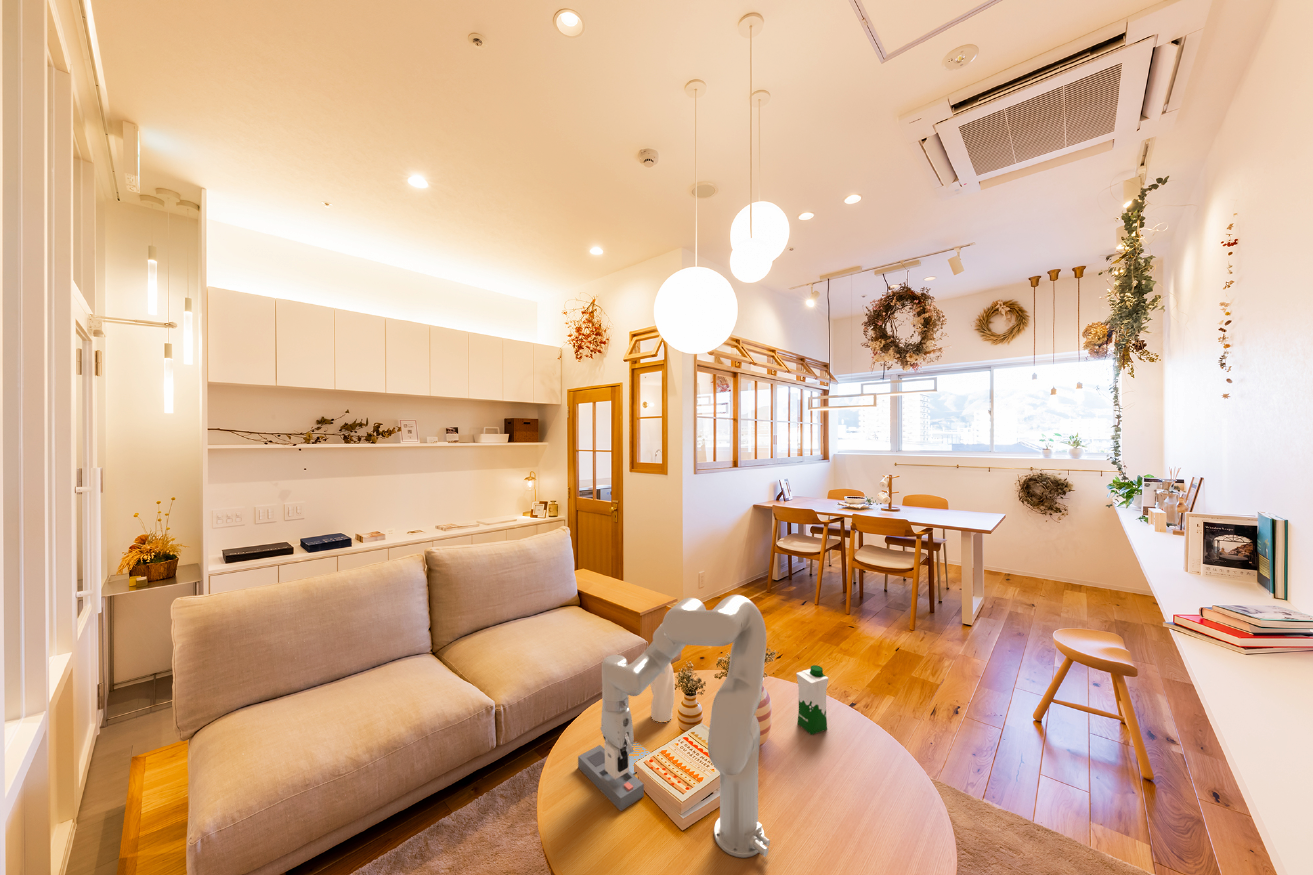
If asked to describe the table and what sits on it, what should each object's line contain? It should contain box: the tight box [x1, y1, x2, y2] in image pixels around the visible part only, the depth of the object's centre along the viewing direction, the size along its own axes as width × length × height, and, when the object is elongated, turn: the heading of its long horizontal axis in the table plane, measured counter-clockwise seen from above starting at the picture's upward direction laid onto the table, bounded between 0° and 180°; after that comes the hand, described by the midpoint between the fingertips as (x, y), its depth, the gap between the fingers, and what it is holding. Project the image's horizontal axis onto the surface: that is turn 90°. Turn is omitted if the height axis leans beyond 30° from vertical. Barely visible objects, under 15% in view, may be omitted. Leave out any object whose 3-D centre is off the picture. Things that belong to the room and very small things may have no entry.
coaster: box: [629, 741, 651, 776], centre depth 147 cm, size 11×11×1 cm
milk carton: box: [796, 664, 829, 736], centre depth 163 cm, size 9×9×20 cm
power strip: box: [577, 744, 645, 812], centre depth 138 cm, size 22×8×4 cm, turn 41°
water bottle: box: [649, 662, 676, 722], centre depth 168 cm, size 10×9×28 cm
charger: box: [604, 741, 629, 779], centre depth 135 cm, size 5×5×8 cm
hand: (617, 763), depth 135 cm, fingers closed on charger, 5 cm apart
